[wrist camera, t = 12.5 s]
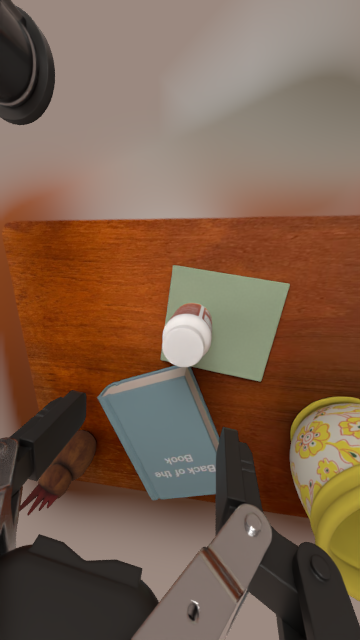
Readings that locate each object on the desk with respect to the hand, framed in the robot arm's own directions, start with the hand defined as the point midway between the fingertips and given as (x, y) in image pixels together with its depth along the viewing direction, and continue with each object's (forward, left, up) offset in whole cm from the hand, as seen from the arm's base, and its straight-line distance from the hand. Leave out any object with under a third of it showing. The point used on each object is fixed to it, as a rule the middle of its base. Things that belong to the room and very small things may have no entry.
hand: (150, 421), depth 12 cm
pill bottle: (+1, 0, -23) cm, 23 cm away
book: (+22, -1, -23) cm, 32 cm away
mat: (+1, +4, -24) cm, 24 cm away
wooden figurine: (+31, -18, -24) cm, 43 cm away
